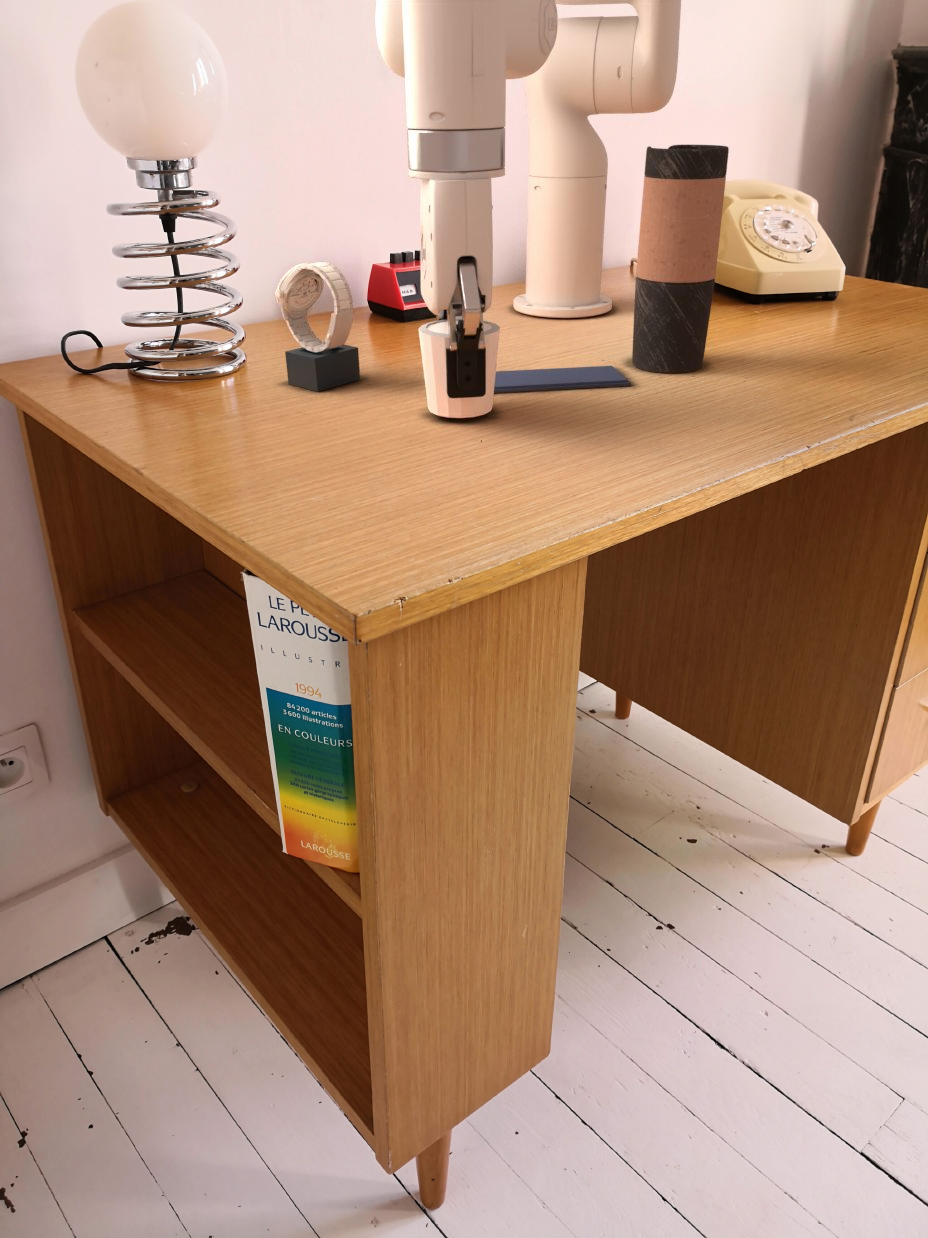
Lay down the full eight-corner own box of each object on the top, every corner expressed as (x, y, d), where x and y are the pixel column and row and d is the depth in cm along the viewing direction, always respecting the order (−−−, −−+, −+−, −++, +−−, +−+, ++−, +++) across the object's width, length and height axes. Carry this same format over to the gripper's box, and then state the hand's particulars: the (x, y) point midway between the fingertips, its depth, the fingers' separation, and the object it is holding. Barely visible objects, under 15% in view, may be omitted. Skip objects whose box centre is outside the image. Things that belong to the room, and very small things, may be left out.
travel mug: (705, 375, 93) (732, 148, 83) (627, 372, 95) (644, 148, 85) (704, 356, 100) (728, 144, 90) (631, 353, 101) (647, 144, 91)
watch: (318, 368, 97) (308, 255, 92) (372, 382, 92) (365, 263, 87) (274, 380, 93) (262, 262, 88) (329, 395, 89) (319, 271, 83)
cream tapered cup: (462, 425, 79) (461, 340, 75) (404, 409, 83) (401, 327, 79) (515, 406, 83) (516, 324, 80) (458, 391, 87) (457, 313, 84)
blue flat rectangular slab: (476, 376, 94) (476, 371, 94) (613, 369, 96) (613, 364, 95) (486, 393, 89) (486, 387, 88) (630, 385, 90) (631, 380, 90)
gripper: (398, 149, 80) (407, 360, 89) (419, 164, 65) (427, 417, 74) (486, 147, 81) (486, 356, 90) (526, 162, 66) (522, 411, 75)
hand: (460, 382), depth 82 cm, fingers closed on cream tapered cup, 6 cm apart
